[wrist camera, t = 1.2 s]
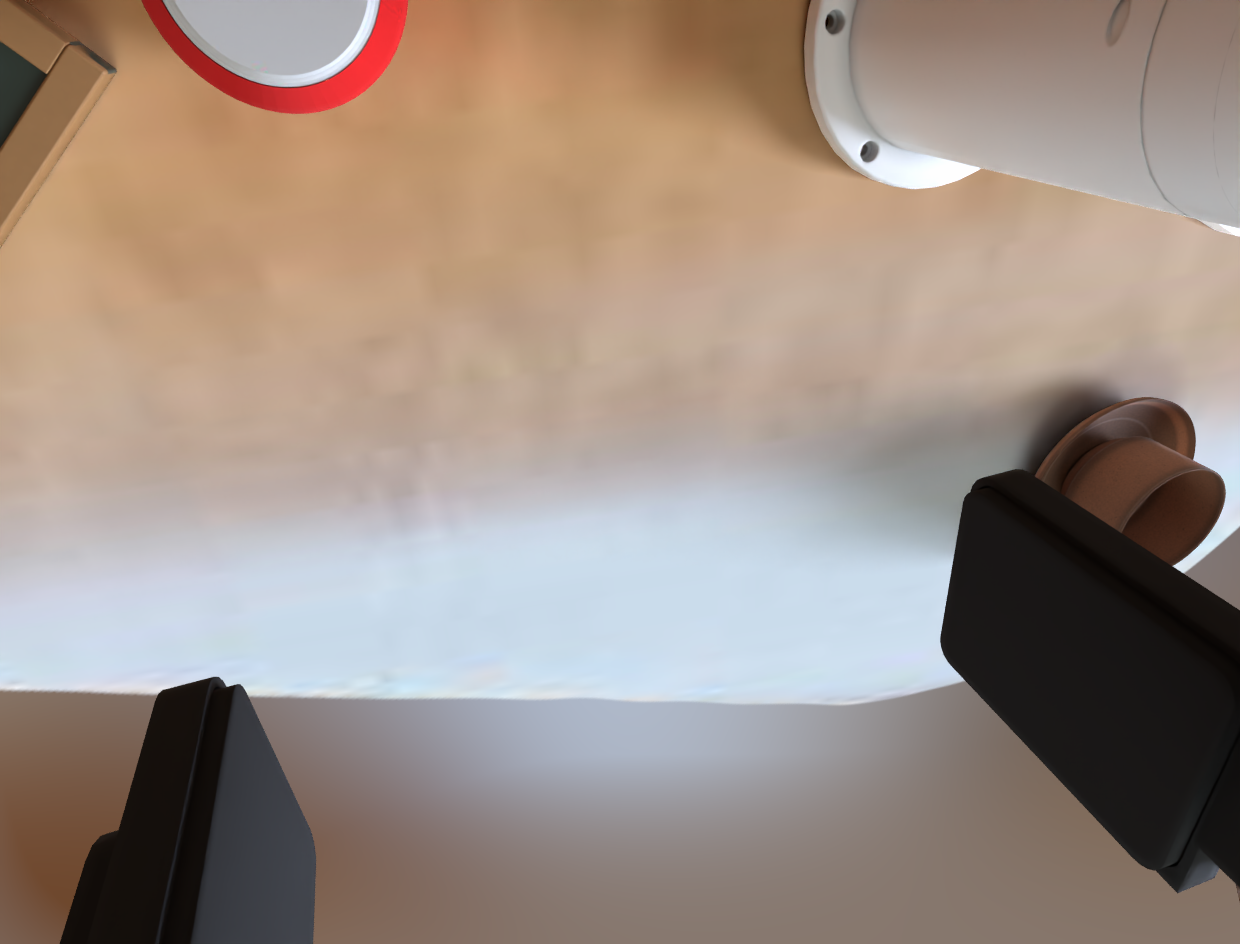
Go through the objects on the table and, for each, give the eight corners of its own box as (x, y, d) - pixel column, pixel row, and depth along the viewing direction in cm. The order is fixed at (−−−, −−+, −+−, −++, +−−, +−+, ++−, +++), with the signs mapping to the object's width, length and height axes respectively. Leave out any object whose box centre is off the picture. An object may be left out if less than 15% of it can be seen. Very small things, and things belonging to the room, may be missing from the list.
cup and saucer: (1125, 542, 55) (1204, 596, 50) (982, 559, 51) (1051, 619, 46) (1198, 382, 49) (1296, 425, 44) (1044, 390, 46) (1130, 437, 41)
